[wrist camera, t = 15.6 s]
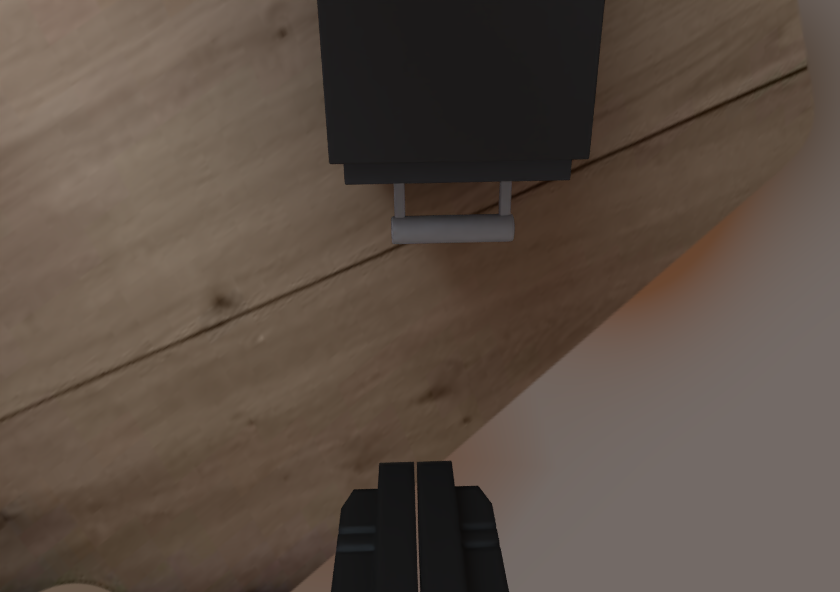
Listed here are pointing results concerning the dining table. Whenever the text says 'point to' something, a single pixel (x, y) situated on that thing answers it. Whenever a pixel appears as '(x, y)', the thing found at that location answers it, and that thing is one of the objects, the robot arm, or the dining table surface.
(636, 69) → the dining table surface
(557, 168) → the drawer
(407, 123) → the cabinet
